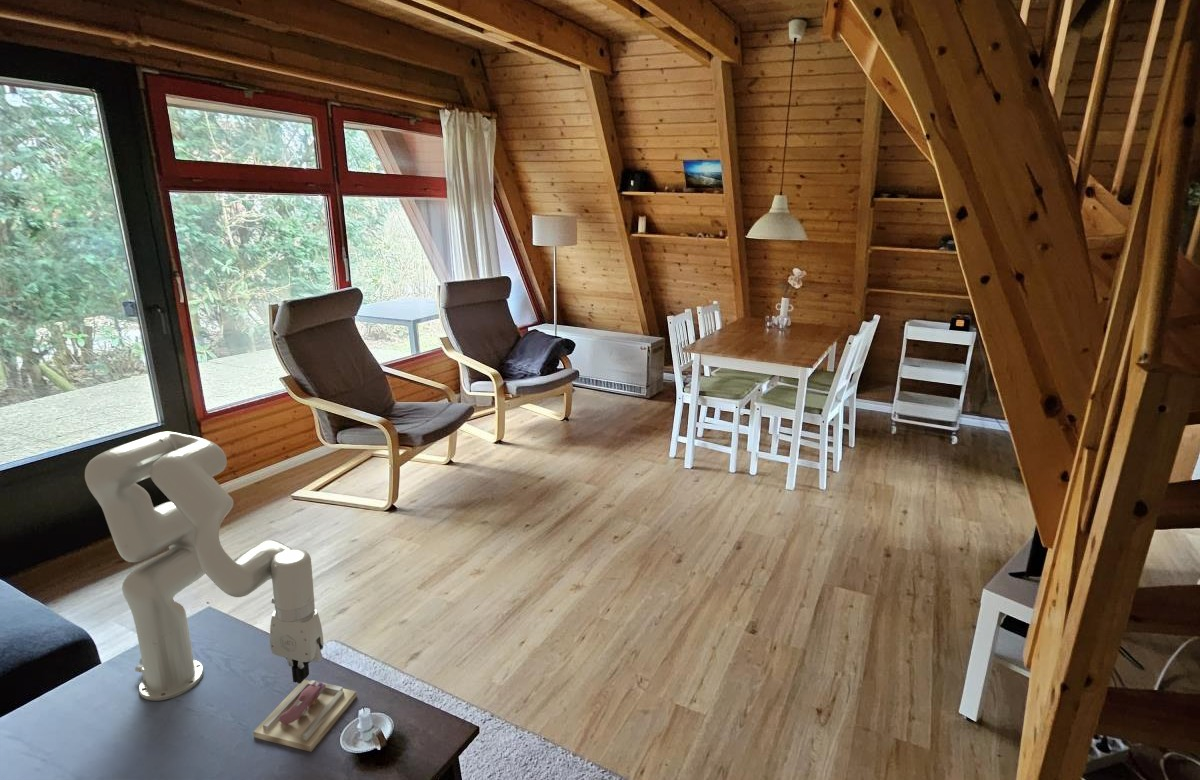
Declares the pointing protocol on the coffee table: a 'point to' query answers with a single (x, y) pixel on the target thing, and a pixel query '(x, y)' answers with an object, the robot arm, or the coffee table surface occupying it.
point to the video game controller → (303, 703)
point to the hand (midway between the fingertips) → (301, 678)
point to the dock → (306, 717)
